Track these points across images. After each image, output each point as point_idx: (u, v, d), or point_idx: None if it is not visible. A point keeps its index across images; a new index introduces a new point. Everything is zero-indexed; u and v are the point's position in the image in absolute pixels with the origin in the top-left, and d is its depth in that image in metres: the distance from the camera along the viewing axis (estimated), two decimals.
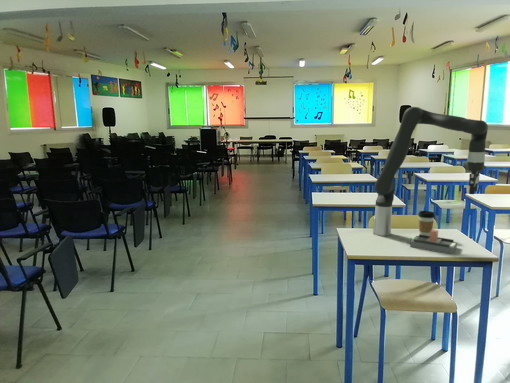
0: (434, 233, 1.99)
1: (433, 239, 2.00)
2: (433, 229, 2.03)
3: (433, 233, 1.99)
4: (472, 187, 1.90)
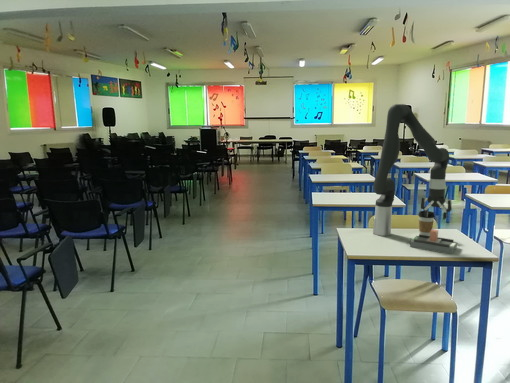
0: (434, 233, 1.99)
1: (433, 239, 2.00)
2: (433, 229, 2.03)
3: (433, 233, 1.99)
4: None
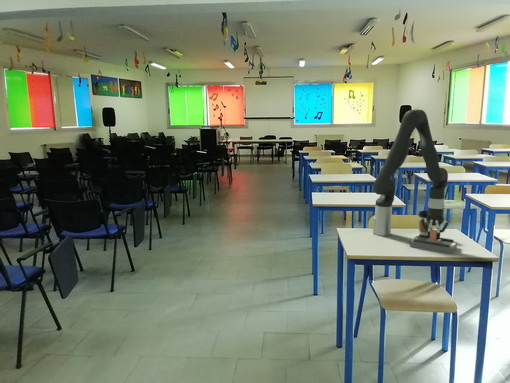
0: (434, 233, 1.99)
1: (433, 239, 2.00)
2: (433, 229, 2.03)
3: (433, 233, 1.99)
4: None
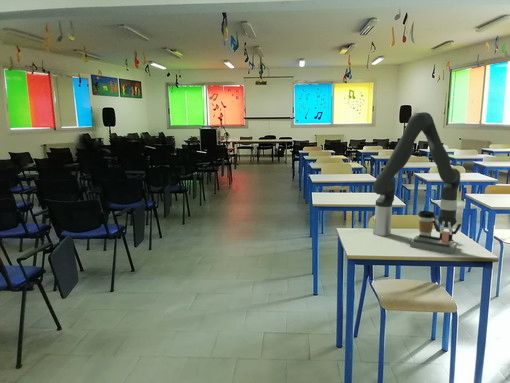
0: (446, 235, 1.96)
1: (445, 241, 1.96)
2: (445, 231, 1.99)
3: (445, 235, 1.96)
4: (452, 234, 1.96)
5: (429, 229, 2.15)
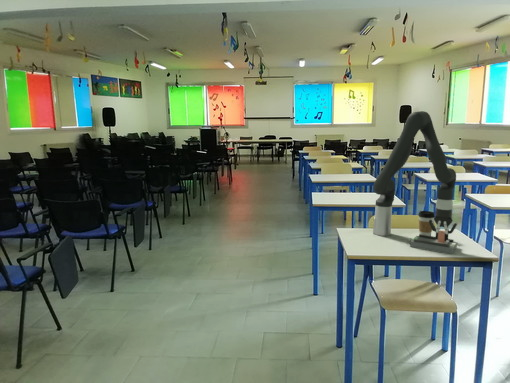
0: (442, 234, 1.97)
1: (441, 240, 1.97)
2: None
3: (441, 234, 1.97)
4: None
5: (429, 229, 2.15)
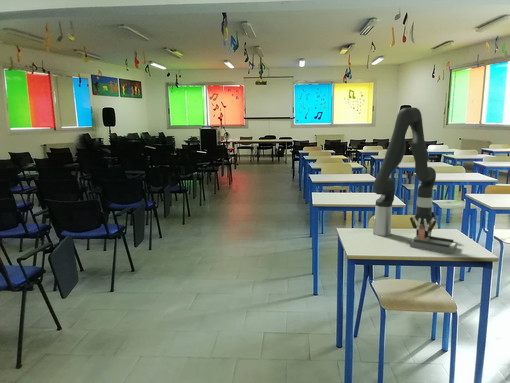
0: (422, 231, 2.02)
1: (421, 237, 2.03)
2: None
3: (421, 231, 2.03)
4: (428, 231, 2.03)
5: None
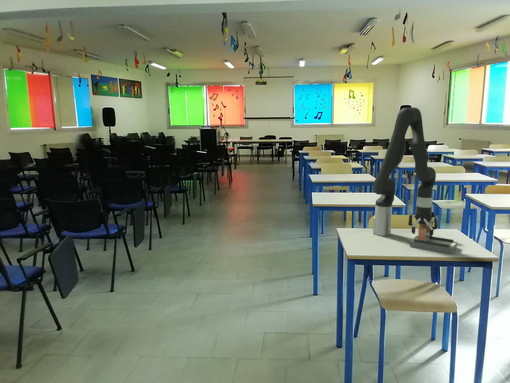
0: (422, 231, 2.02)
1: (421, 237, 2.03)
2: None
3: (421, 231, 2.03)
4: (433, 230, 2.01)
5: (429, 229, 2.15)
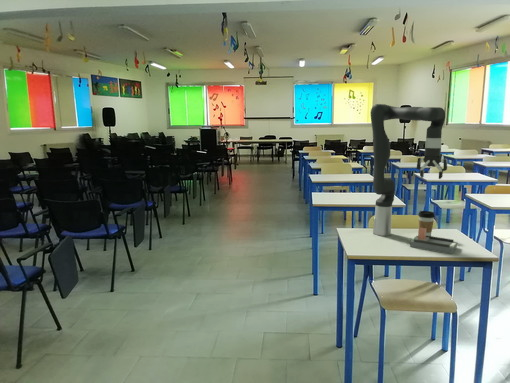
0: (422, 231, 2.02)
1: (421, 237, 2.03)
2: None
3: (421, 231, 2.03)
4: (442, 172, 1.97)
5: (429, 229, 2.15)
